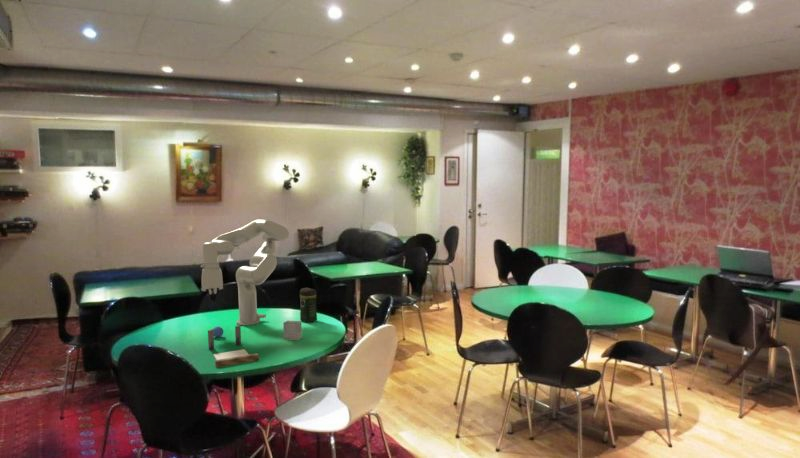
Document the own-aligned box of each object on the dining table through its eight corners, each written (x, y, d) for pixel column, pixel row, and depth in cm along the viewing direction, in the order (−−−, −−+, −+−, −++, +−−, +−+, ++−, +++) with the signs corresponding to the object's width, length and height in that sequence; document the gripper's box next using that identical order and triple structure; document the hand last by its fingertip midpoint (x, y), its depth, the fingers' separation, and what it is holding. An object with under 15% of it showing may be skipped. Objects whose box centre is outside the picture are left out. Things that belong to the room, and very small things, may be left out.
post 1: (213, 347, 259) (212, 329, 258) (214, 349, 257) (213, 330, 256) (208, 348, 258) (207, 330, 257) (209, 350, 256) (208, 331, 255)
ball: (222, 335, 280) (222, 324, 279) (224, 337, 275) (224, 327, 275) (211, 336, 277) (210, 326, 277) (213, 339, 272) (212, 328, 272)
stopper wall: (257, 358, 243) (257, 353, 243) (258, 360, 241) (258, 354, 241) (215, 365, 234) (215, 360, 234) (216, 367, 233) (215, 361, 232)
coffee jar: (319, 321, 304) (318, 288, 302) (307, 324, 299) (306, 290, 297) (310, 318, 311) (309, 286, 310) (298, 320, 306) (297, 287, 305)
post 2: (240, 343, 265) (239, 325, 264) (241, 345, 263) (241, 326, 262) (235, 344, 264) (234, 326, 263) (236, 345, 262) (235, 327, 261)
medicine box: (302, 338, 273) (301, 321, 272) (297, 340, 269) (297, 323, 268) (288, 336, 276) (287, 320, 275) (283, 339, 271) (283, 322, 271)
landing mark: (244, 349, 256) (244, 349, 256) (251, 358, 244) (251, 357, 244) (213, 354, 249) (213, 354, 249) (219, 363, 237) (219, 363, 237)
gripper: (197, 268, 274) (198, 304, 276) (227, 265, 281) (229, 301, 283) (194, 266, 281) (196, 301, 282) (224, 263, 288) (226, 298, 290)
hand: (212, 301), depth 283 cm, fingers closed
